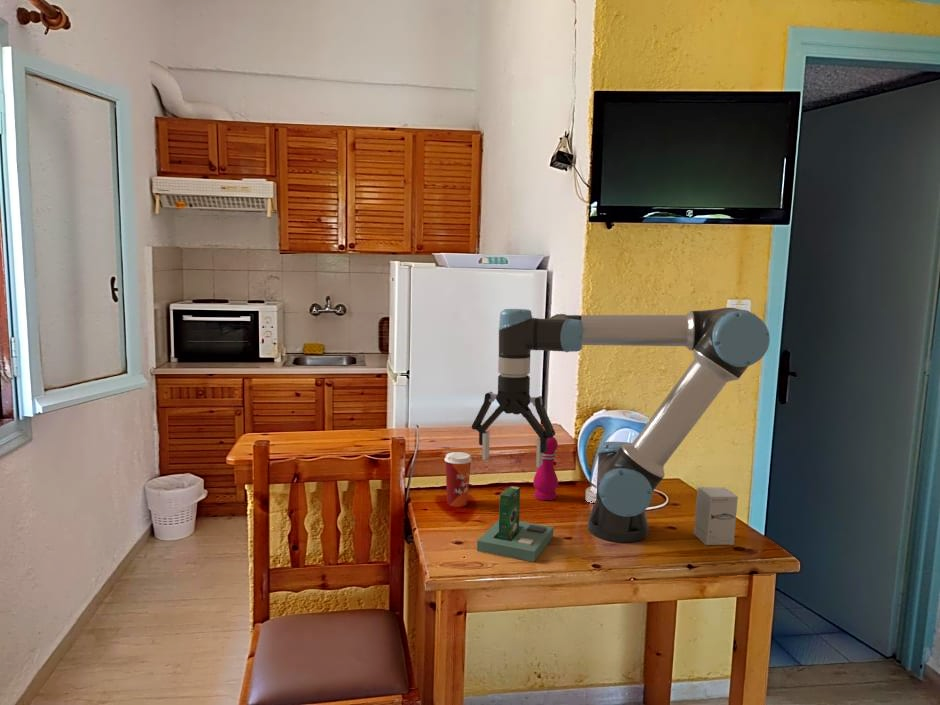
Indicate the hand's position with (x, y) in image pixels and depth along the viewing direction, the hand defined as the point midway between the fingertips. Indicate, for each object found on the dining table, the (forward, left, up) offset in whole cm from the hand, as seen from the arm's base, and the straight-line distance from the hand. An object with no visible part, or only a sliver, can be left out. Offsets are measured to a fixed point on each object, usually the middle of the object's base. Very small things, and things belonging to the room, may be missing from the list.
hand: (512, 462), depth 160 cm
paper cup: (+22, -19, -20) cm, 36 cm away
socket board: (-2, 0, -20) cm, 20 cm away
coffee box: (0, 0, -20) cm, 20 cm away
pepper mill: (+1, -35, -20) cm, 40 cm away
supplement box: (-46, -24, -20) cm, 56 cm away
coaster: (-15, -39, -21) cm, 46 cm away
